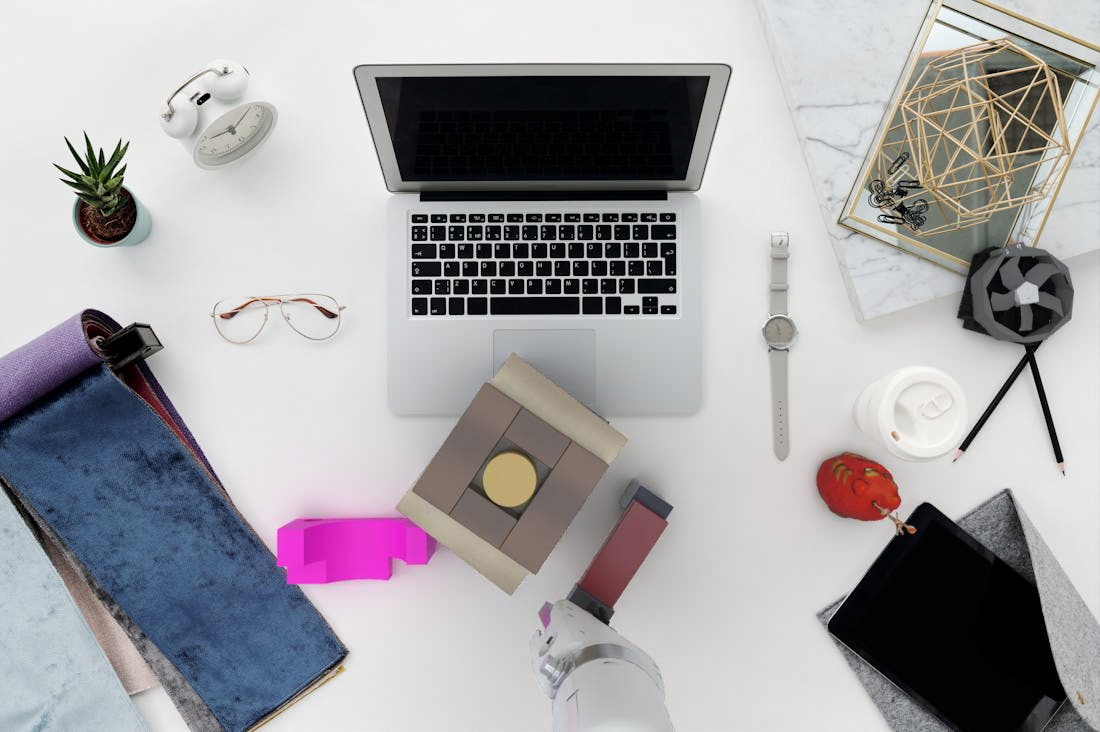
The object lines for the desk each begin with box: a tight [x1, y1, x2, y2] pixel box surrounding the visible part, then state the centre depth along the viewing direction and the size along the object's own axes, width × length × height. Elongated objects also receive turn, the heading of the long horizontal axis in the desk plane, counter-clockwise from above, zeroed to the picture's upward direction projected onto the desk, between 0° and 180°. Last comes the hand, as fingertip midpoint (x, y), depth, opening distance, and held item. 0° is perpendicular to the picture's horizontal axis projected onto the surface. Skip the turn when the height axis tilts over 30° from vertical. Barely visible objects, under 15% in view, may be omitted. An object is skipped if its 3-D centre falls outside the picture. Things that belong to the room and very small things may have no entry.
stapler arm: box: [565, 499, 669, 622], centre depth 76 cm, size 13×4×3 cm, turn 146°
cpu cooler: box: [956, 241, 1075, 347], centre depth 84 cm, size 10×6×10 cm
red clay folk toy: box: [815, 451, 917, 537], centre depth 78 cm, size 8×7×15 cm
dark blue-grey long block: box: [618, 477, 674, 521], centre depth 81 cm, size 15×6×8 cm, turn 146°
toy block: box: [276, 516, 436, 585], centre depth 81 cm, size 15×6×8 cm, turn 91°
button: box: [483, 450, 537, 507], centre depth 59 cm, size 4×4×3 cm
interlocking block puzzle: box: [394, 352, 629, 597], centre depth 72 cm, size 16×12×27 cm
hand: (589, 618), depth 71 cm, fingers closed
